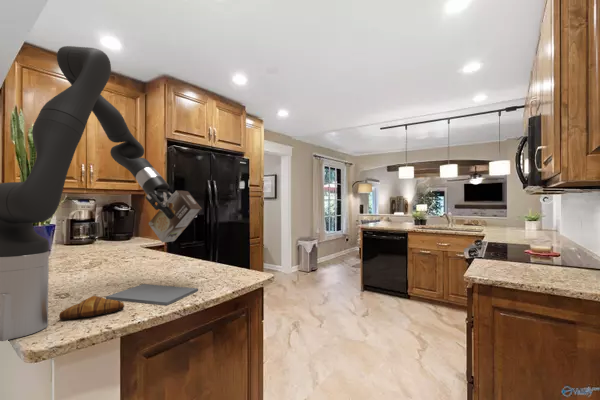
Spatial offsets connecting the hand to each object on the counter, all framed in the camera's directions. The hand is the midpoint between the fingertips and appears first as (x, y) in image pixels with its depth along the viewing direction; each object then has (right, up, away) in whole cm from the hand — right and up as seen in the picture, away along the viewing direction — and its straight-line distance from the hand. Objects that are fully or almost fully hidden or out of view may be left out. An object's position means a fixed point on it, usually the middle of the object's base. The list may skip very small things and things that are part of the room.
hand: (179, 216), depth 97 cm
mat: (-5, -24, -8) cm, 26 cm away
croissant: (-12, -24, -24) cm, 36 cm away
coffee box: (-7, -6, +2) cm, 9 cm away
